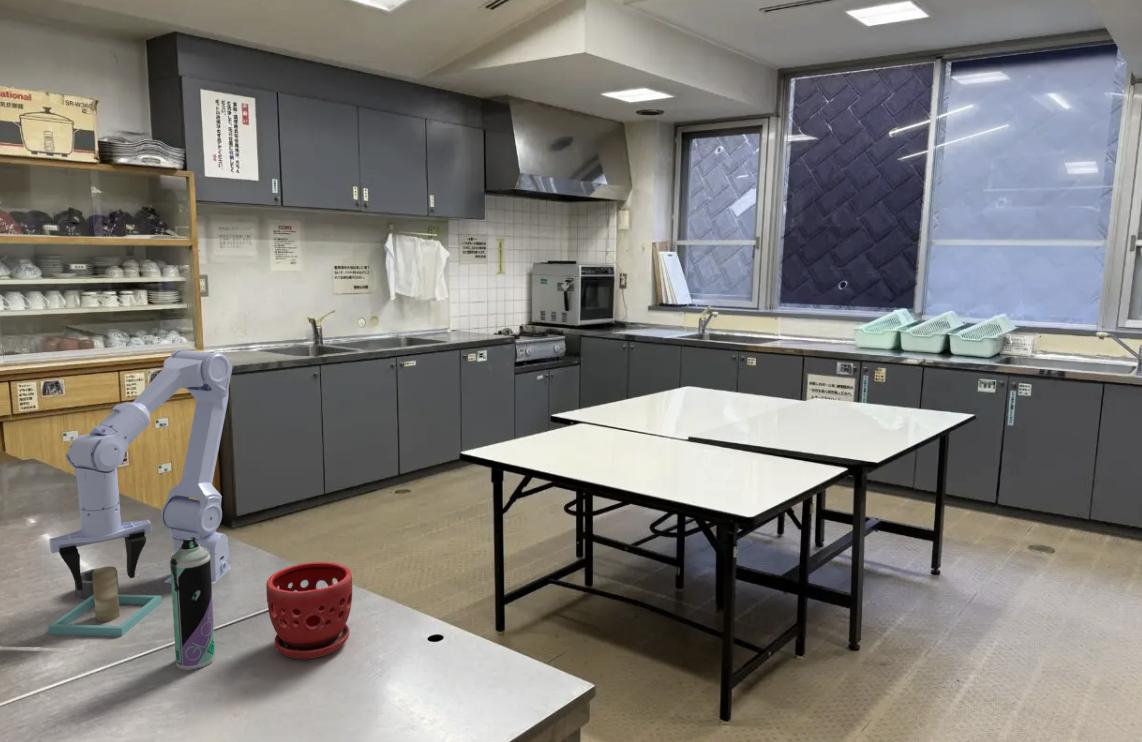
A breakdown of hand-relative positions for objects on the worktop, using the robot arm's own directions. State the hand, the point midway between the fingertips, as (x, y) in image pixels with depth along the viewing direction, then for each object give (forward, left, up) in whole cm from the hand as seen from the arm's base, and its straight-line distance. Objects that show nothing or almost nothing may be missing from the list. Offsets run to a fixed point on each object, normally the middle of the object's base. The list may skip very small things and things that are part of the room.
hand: (105, 582), depth 130 cm
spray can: (-21, +12, -7) cm, 25 cm away
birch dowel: (0, 0, -7) cm, 7 cm away
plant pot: (-37, +6, -7) cm, 38 cm away
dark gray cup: (+8, -10, -7) cm, 15 cm away
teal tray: (0, 0, -7) cm, 7 cm away
